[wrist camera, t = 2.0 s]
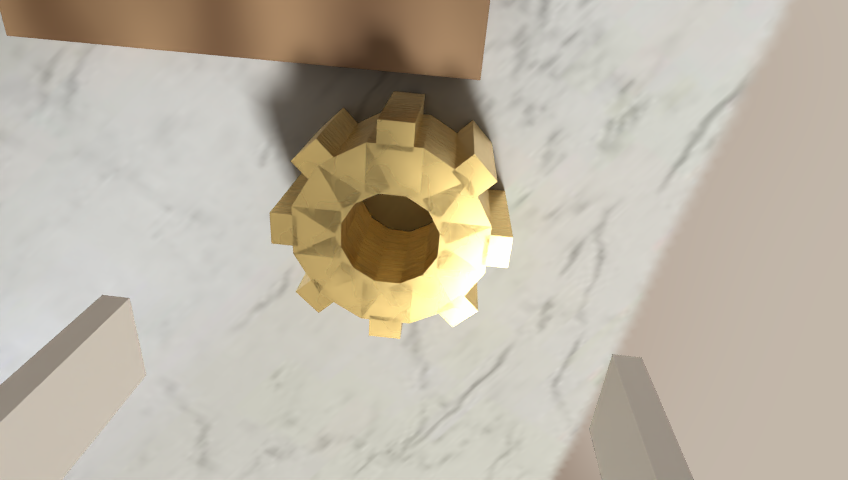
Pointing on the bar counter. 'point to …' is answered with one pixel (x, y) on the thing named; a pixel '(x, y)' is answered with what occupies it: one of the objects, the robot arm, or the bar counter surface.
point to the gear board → (275, 30)
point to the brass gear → (380, 246)
